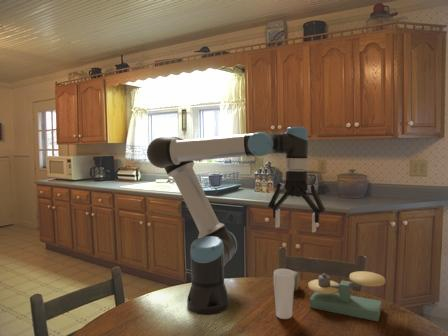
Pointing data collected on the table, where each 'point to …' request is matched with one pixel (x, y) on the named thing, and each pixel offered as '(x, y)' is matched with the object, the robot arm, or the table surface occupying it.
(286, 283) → the white cup
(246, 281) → the table surface
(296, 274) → the ceramic mug
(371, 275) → the balance
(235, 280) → the table surface
